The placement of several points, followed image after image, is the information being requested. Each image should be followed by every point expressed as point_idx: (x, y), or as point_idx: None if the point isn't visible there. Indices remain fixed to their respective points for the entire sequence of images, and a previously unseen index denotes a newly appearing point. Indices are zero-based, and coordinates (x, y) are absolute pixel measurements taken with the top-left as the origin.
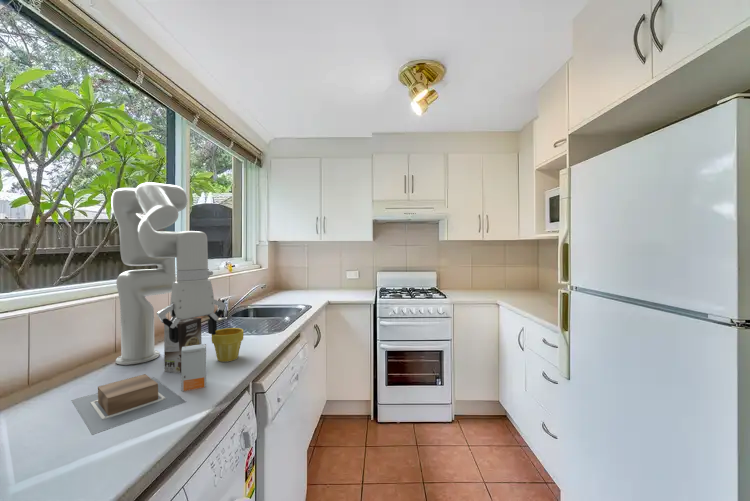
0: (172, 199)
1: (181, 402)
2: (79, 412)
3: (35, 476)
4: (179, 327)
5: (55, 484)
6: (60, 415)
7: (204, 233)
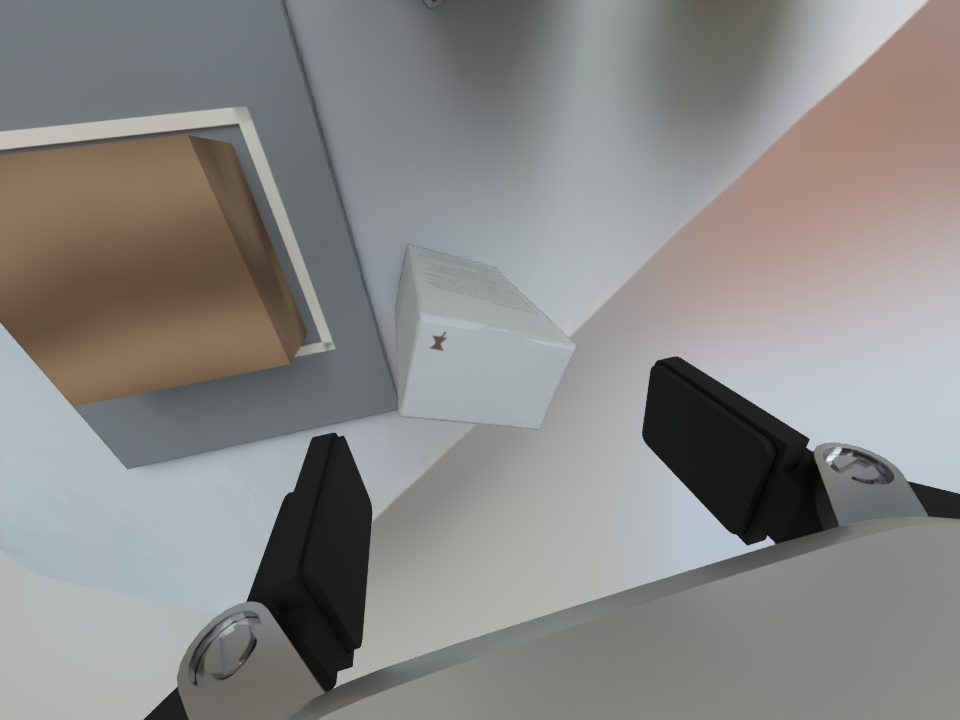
0: None
1: (383, 406)
2: None
3: (61, 546)
4: None
5: (133, 579)
6: None
7: None
